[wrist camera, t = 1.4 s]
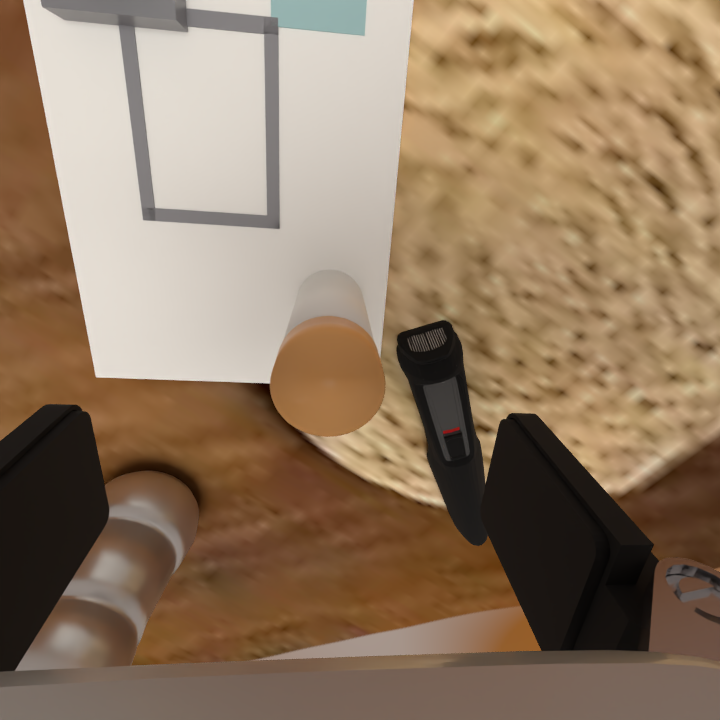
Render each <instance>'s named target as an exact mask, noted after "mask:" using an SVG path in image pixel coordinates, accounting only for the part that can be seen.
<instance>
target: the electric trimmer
mask: <svg viewBox="0 0 720 720" xmlns="http://www.w3.org/2000/svg"><path fill="white" fill-rule="evenodd" d="M397 341H398V346H397V356H398V361H399V363H400V366H401V368H402V370H403V372H404V373H405V375H406V377H407V378H408V381H409V384H410V387H411V390H412V392H413V395H414V398H415V401H416V404H417V407H418V410H419V413H420V416H421V420H422V423H423V426H424V429H425V433H426V438H427V442H428V452H427V459H428V462H429V464H430V467H431V470H432V472H433V474H434V477H435V479H436V482H437V484H438V487H439V489H440V492H441V494H442V497H443V499H444V502H445V504H446V506H447V509H448V511H449V514H450V516H451V518H452V520H453V522H454V524H455V526H456V528H457V529H458V530H459V531H460V533H461V534H462V535H463V536H464V537H465V538H466V539H467V540H468V541H469V542H470V543H471V544H473V545H477V546H479V545H482V544H483V543H484V542H485V541H486V539H487V536H488V534H487V531H486V529H485V527H484V525H483V523H482V519H481V513H480V508H481V503H482V498H483V494H484V490H485V476H484V466H483V457H482V451H481V446H480V441H479V440H478V438H477V436H476V433H475V429H474V425H473V419H472V413H471V407H470V401H469V395H468V389H467V382H466V376H465V370H464V364H463V350H462V345H461V342H460V340H459V338H458V336H457V334H456V333H455V332H454V330H453V328H452V325H451V324H450V323H449V322H447V321H440V322H436V323H432V324H429V325H426V326H422V327H419V328H415V329H412V330H408V331H405V332H403V333H400V334H399V335H398V338H397Z"/></svg>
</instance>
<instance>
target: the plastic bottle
mask: <svg viewBox="0 0 720 720" xmlns="http://www.w3.org/2000/svg"><path fill="white" fill-rule="evenodd" d="M105 490H106V494H107V499H108V504H109V518H108V521H107V524H106V526H105V527H104V529H103V531H102V532H101V534H100V535H99V537H98V539H97V540H96V542H95V543H94V545H93V547H92V548H91V550H90V551H89V553H88V555H87V556H86V558H85V559H84V561H83V562H82V564H81V566H80V567H79V569H78V570H77V572H76V574H75V575H74V577H73V578H72V580H71V582H70V583H69V585H68V586H67V588H66V590H65V591H64V593H63V594H62V596H61V598H60V599H59V601H58V602H57V604H56V606H55V607H54V609H53V610H52V612H51V614H50V615H49V617H48V618H47V620H46V622H45V623H44V625H43V626H42V628H41V630H40V631H39V633H38V634H37V636H36V638H35V639H34V641H33V642H32V644H31V646H30V647H29V649H28V650H27V652H26V654H25V655H24V657H23V658H22V660H21V662H20V663H19V665H18V666H17V668H16V670H15V671H27V670H50V669H72V668H94V667H117V666H131V664H132V661H133V658H134V656H135V653H136V649H137V646H138V644H139V642H140V640H141V637H142V634H143V632H144V629H145V626H146V624H147V622H148V620H149V618H150V616H151V614H152V612H153V610H154V608H155V606H156V604H157V603H158V601H159V599H160V597H161V595H162V593H163V591H164V589H165V587H166V585H167V584H168V582H169V580H170V578H171V576H172V575H173V574H174V572H175V571H176V569H177V568H178V567H179V565H180V564H181V562H182V561H183V559H184V557H185V556H186V554H187V552H188V550H189V549H190V547H191V545H192V544H193V542H194V539H195V536H196V532H197V526H198V520H199V508H198V504H197V501H196V500H195V498H194V496H193V494H192V492H191V490H190V489H189V488H188V487H187V485H186V484H184V483H183V482H182V481H181V480H179V479H177V478H176V477H174V476H172V475H169V474H166V473H163V472H159V471H149V470H146V471H137V472H133V473H128V474H124V475H121V476H119V477H117V478H114V479H113V480H111V481H110V482H108V483H107V484H106V485H105Z"/></svg>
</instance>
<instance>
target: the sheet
mask: <svg viewBox="0 0 720 720" xmlns="http://www.w3.org/2000/svg"><path fill="white" fill-rule="evenodd" d="M23 1H24V6H25V11H26V17H27V22H28V27H29V32H30V37H31V43H32V48H33V53H34V58H35V63H36V68H37V74H38V79H39V84H40V89H41V94H42V100H43V105H44V110H45V115H46V120H47V126H48V131H49V136H50V141H51V146H52V151H53V157H54V162H55V167H56V172H57V177H58V183H59V188H60V193H61V198H62V203H63V208H64V214H65V219H66V224H67V229H68V234H69V240H70V245H71V250H72V255H73V260H74V266H75V271H76V276H77V281H78V286H79V291H80V297H81V302H82V307H83V312H84V317H85V323H86V328H87V333H88V338H89V343H90V349H91V354H92V359H93V364H94V369H95V374H96V377H103V378H132V379H161V380H189V381H218V382H247V383H270V378H271V373H272V370H273V367H274V364H275V361H276V357H277V354H278V351H279V348H280V346H281V344H282V342H283V340H284V337H285V333H286V330H287V327H288V324H289V321H290V317H291V314H292V311H293V308H294V305H295V301H296V298H297V295H298V292H299V289H300V287H301V285H302V284H303V282H304V281H305V280H306V279H307V278H308V277H309V276H311V275H312V274H314V273H316V272H318V271H322V270H338V271H341V272H344V273H346V274H347V275H349V276H350V277H352V278H353V279H354V280H355V281H356V283H357V284H358V285H359V287H360V289H361V291H362V295H363V299H364V303H365V307H366V311H367V315H368V319H369V323H370V327H371V331H372V335H373V339H374V342H375V344H376V347H377V349H378V353H379V357H380V355H381V344H382V333H383V323H384V312H385V301H386V291H387V280H388V269H389V259H390V248H391V237H392V227H393V216H394V205H395V195H396V184H397V173H398V162H399V152H400V141H401V130H402V120H403V109H404V98H405V88H406V77H407V66H408V56H409V45H410V34H411V24H412V13H413V2H414V0H186V18H187V26H188V32H179V31H169V30H159V29H149V28H138V27H134V26H125V25H119V26H118V25H108V24H98V23H88V22H78V21H67V20H63V19H62V18H60V17H58V16H57V15H55V14H53V13H52V12H50V11H48V10H47V9H45V8H43V7H42V5H41V0H23Z"/></svg>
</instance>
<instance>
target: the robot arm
mask: <svg viewBox="0 0 720 720" xmlns="http://www.w3.org/2000/svg"><path fill="white" fill-rule="evenodd" d="M480 513H481V519H482V523H483V525H484V527H485V529H486V531H487V534H488V536H489V538H490V540H491V542H492V544H493V547H494V549H495V551H496V553H497V555H498V557H499V560H500V562H501V564H502V566H503V568H504V570H505V573H506V575H507V577H508V579H509V581H510V583H511V586H512V588H513V590H514V592H515V594H516V596H517V599H518V601H519V603H520V605H521V607H522V609H523V612H524V614H525V616H526V618H527V620H528V622H529V625H530V627H531V629H532V631H533V633H534V635H535V637H536V640H537V642H538V644H539V646H540V648H541V651H516V652H487V653H456V654H455V653H454V654H425V655H394V656H368V657H367V656H366V657H338V658H312V659H285V660H260V661H235V662H209V663H184V664H162V665H139V666H117V667H94V668H72V669H50V670H27V671H15V670H16V668H17V666H18V665H19V663H20V662H21V660H22V658H23V657H24V655H25V654H26V652H27V650H28V649H29V647H30V646H31V644H32V642H33V641H34V639H35V638H36V636H37V634H38V633H39V631H40V630H41V628H42V626H43V625H44V623H45V622H46V620H47V618H48V617H49V615H50V614H51V612H52V610H53V609H54V607H55V606H56V604H57V602H58V601H59V599H60V598H61V596H62V594H63V593H64V591H65V590H66V588H67V586H68V585H69V583H70V582H71V580H72V578H73V577H74V575H75V574H76V572H77V570H78V569H79V567H80V566H81V564H82V562H83V561H84V559H85V558H86V556H87V555H88V553H89V551H90V550H91V548H92V547H93V545H94V543H95V542H96V540H97V539H98V537H99V535H100V534H101V532H102V531H103V529H104V527H105V526H106V524H107V521H108V518H109V504H108V499H107V494H106V490H105V485H104V480H103V475H102V470H101V465H100V461H99V456H98V451H97V446H96V441H95V437H94V432H93V427H92V422H91V418H90V415H89V414H88V413H87V412H83V411H82V409H81V408H80V407H79V406H78V405H58V404H48V405H45V406H43V407H42V408H40V409H39V410H38V411H37V412H35V413H34V414H33V415H32V416H31V417H29V418H28V419H27V420H26V421H24V422H23V423H22V424H21V425H20V426H18V427H17V428H16V429H15V430H13V431H12V432H11V433H10V434H9V435H7V436H6V437H5V438H4V439H2V440H1V441H0V720H720V572H718V571H716V570H714V569H712V568H711V567H709V566H707V565H704V564H702V563H699V562H696V561H693V560H690V559H684V558H678V557H673V558H665V559H663V560H661V561H660V562H659V561H658V559H657V558H656V557H655V556H654V555H653V554H652V553H651V550H652V548H653V545H654V544H653V543H652V542H651V541H650V540H649V539H648V538H647V537H646V536H645V534H644V533H643V532H642V531H641V530H640V529H639V528H638V527H637V526H636V524H635V523H634V522H633V521H632V520H631V519H630V518H629V517H628V516H627V514H626V513H625V512H624V511H623V510H622V509H621V508H620V507H619V506H618V504H617V503H616V502H615V501H614V500H613V499H612V498H611V497H610V496H609V494H608V493H607V492H606V491H605V490H604V489H603V488H602V487H601V486H600V484H599V483H598V482H597V481H596V480H595V479H594V478H593V477H592V476H591V474H590V473H589V472H588V471H587V470H586V469H585V468H584V467H583V466H582V464H581V463H580V462H579V461H578V460H577V459H576V458H575V457H574V456H573V455H572V453H571V452H570V451H569V450H568V449H567V448H566V447H565V446H564V445H563V443H562V442H561V441H560V440H559V439H558V438H557V437H556V436H555V435H554V433H553V432H552V431H551V430H550V429H549V428H548V427H547V426H546V425H545V423H544V422H543V421H542V420H541V419H540V418H539V417H538V416H537V415H536V414H522V413H511V414H509V415H508V417H507V419H503V420H501V422H500V424H499V428H498V433H497V437H496V441H495V446H494V450H493V455H492V459H491V463H490V468H489V472H488V477H487V481H486V485H485V490H484V494H483V498H482V503H481V508H480Z"/></svg>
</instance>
